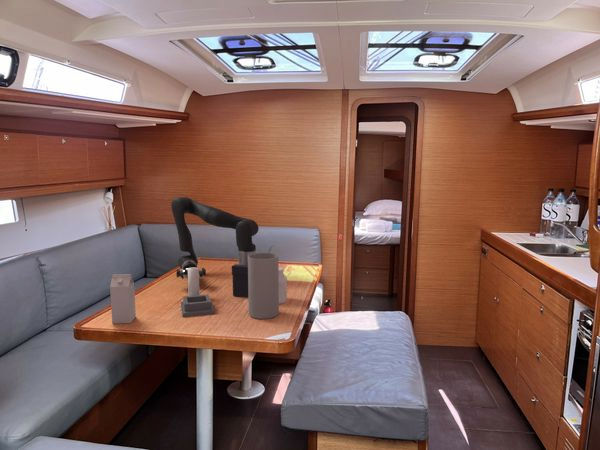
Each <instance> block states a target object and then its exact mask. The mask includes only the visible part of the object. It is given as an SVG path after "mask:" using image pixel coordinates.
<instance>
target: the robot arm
mask: <svg viewBox="0 0 600 450" xmlns="http://www.w3.org/2000/svg"><path fill="white" fill-rule="evenodd" d="M170 208H171V211H172V216H173V218H174V223H175V226H176V229H177V234H178V242H179V249H180V252H182V253H189V255H182V256H179V257H178V259H177V260H178V261H177V264H178V267H179V268H180V269H176V271H175V272H176V278H179V277H180V279H182V280H183V279H185V278H186V277H187V278H188V268H193V267H196V268H198V265H199V260H198V258H197V255H196V253H195V250H194V246H193V243H194V242H193V237H192V234H191V230H190V229H189V228H188V224H187V223H186V219H185V214H189V215H192V216H195V217H198V218H200V220H202V221H203V222H204V223H207V224H209V225H212V226H213V227H219V228H222V229H223V228H225V229H232V230H235V240H236V242H235V243H236V247H237V254H238V255H237V258H238V259H237V261H238V262H237V263H238V264H239V265H248V255H250V254H254V253H257V252H256V250H257V248H256V247H257V246H256V244H255V243H254V242H253V237H255V236H256V235H257V234H258V233H259V230H260V229H259V225H258V223H257V221H255V220H254V219H250V218H245V217H241V216H237V215H235V214H233V213H230V212H227V211H224V210H222V209H220V208H217V207H214V206H210V205H206V204H202V203H200V202H198V201H196V200H194V199H193V198H190V197H186V196H181V197H180V196H179V197H175V198H173V199H172V201H171V204H170ZM206 275H207V269H206V268H205V267H202V268H201V269H199V278H202V277H204V276H206Z"/></svg>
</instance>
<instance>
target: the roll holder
mask: <svg viewBox="0 0 600 450" xmlns="http://www.w3.org/2000/svg"><path fill="white" fill-rule="evenodd" d="M180 307H181V308H180V310H181V315H182V318H186V317H197V316H205V315H206V316H207V315H214V314H215V313H216V312H215V308H214V305H213V303H212V300H211V298H210V294H200V295H197V296H189V295H188V296H182V301H180Z"/></svg>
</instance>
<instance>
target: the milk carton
mask: <svg viewBox="0 0 600 450" xmlns="http://www.w3.org/2000/svg"><path fill="white" fill-rule="evenodd" d="M111 275H112V277H111V282H110V286H109V290H110V291H109V293H110V305H111V306H110V308H111V322H112V323H111V324H131V323H132V322H133V321H134V320H135V319H136V317H137V316H136V296H135V295H136V293H135V282H134V279H133V277H132V273H129V274H127V273H124V274H111Z"/></svg>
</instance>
